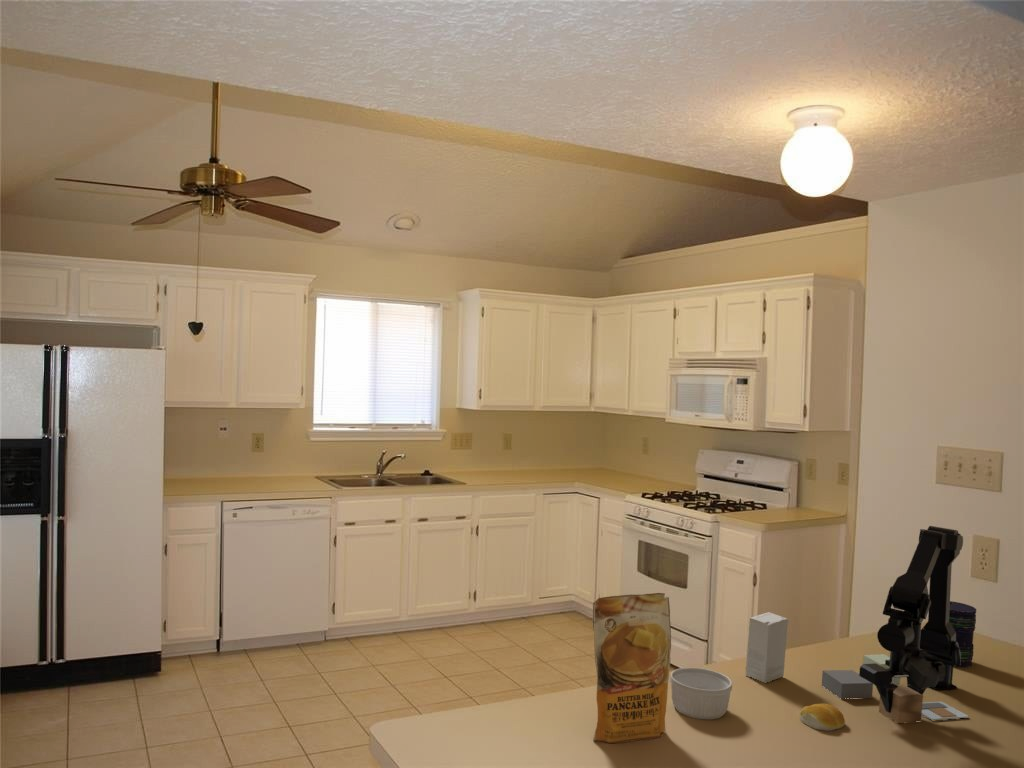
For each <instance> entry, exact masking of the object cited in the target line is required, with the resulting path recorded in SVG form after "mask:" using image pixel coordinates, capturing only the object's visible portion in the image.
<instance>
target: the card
mask: <svg viewBox="0 0 1024 768" xmlns="http://www.w3.org/2000/svg"><path fill="white" fill-rule="evenodd" d="M922 715H924V716H926V717H927V718H929V719H931V720H942V719H956V718H969V719H970V716H969V715H967V714H966V713H964V712H962V711H960V710H958V709H957V708H954V707H953V706H950V705H949V704H947V703H945V702H943V701H929V702H928V701H927V702H922ZM922 715H921V716H922ZM924 716H923V717H924ZM926 717H925V718H926ZM927 718H926V719H927ZM929 719H928V720H929ZM931 720H930V721H931ZM956 720H957V719H956Z"/></svg>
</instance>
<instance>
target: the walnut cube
mask: <svg viewBox="0 0 1024 768" xmlns="http://www.w3.org/2000/svg"><path fill="white" fill-rule="evenodd" d="M897 686H898V687H897V688H896V689H895V690H894V691H893V700H892V708H891V712H890V713H889V712H887V711H886V710H885V707H884V705H883V702H882V699H881V697H880V696H879V704H878V705H879V706H878V713H879V714H881V713H882V714H881V715H883V714H884V715H885V716H884V715H883V716H884V717H886V716H887V717H886V718H888V717H889V718H891V719H892V720H891V719H890V720H891V721H893V720H894V721H896V722H897V723H904V722H916V721H921V722H922V703H924V702H923V701H924V694H923V695H922V694H920V693H918V692H916V691H914V690H913V689H911V688H909V687H907V685H905V684H901V683H900V685H897ZM889 718H888V719H889ZM894 721H893V722H894ZM896 722H895V723H896ZM897 723H896V724H897ZM904 724H905V723H904Z"/></svg>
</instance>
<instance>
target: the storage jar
mask: <svg viewBox="0 0 1024 768" xmlns="http://www.w3.org/2000/svg"><path fill="white" fill-rule="evenodd" d="M976 613H977V608H975V607H974V606H972V605H969V604H966V603H962V602H958V601H957V602H956V601H953V600H952V601H951V600H950V612H949V622H950V623H951V625H952V627H953V628H954V630H955V632H956V642H958V645H959V649H960V653H961V665H960V666H955V667H954V668H960V669H963V668H964V669H965V668H967V669H969V668H971V667H972V665H973V661H972V660H973V657H974V647H975V645H974V634H975V633H974V632H975V631H976V623H977V615H976ZM951 658H952V657H951Z"/></svg>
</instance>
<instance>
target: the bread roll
mask: <svg viewBox="0 0 1024 768" xmlns="http://www.w3.org/2000/svg"><path fill="white" fill-rule="evenodd" d="M798 715H799V716H798V717H799V720H800V721H801V722H802V723H803V724H805V725H806V726H808V727H810V728H811V729H815V730H817V731H824V732H825V731H827V732H830V731H835V730H837V729H842V728H843V727H844V726H845V723H846V720H845V718H844V717H845V716H844V714H843V713H842V712H841V710H839V709H838V707H836V706H834V705H832V704H829V703H814V704H811V705H806V706H804V707H803V708H802V709H801V710H800V711H799V714H798Z"/></svg>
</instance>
